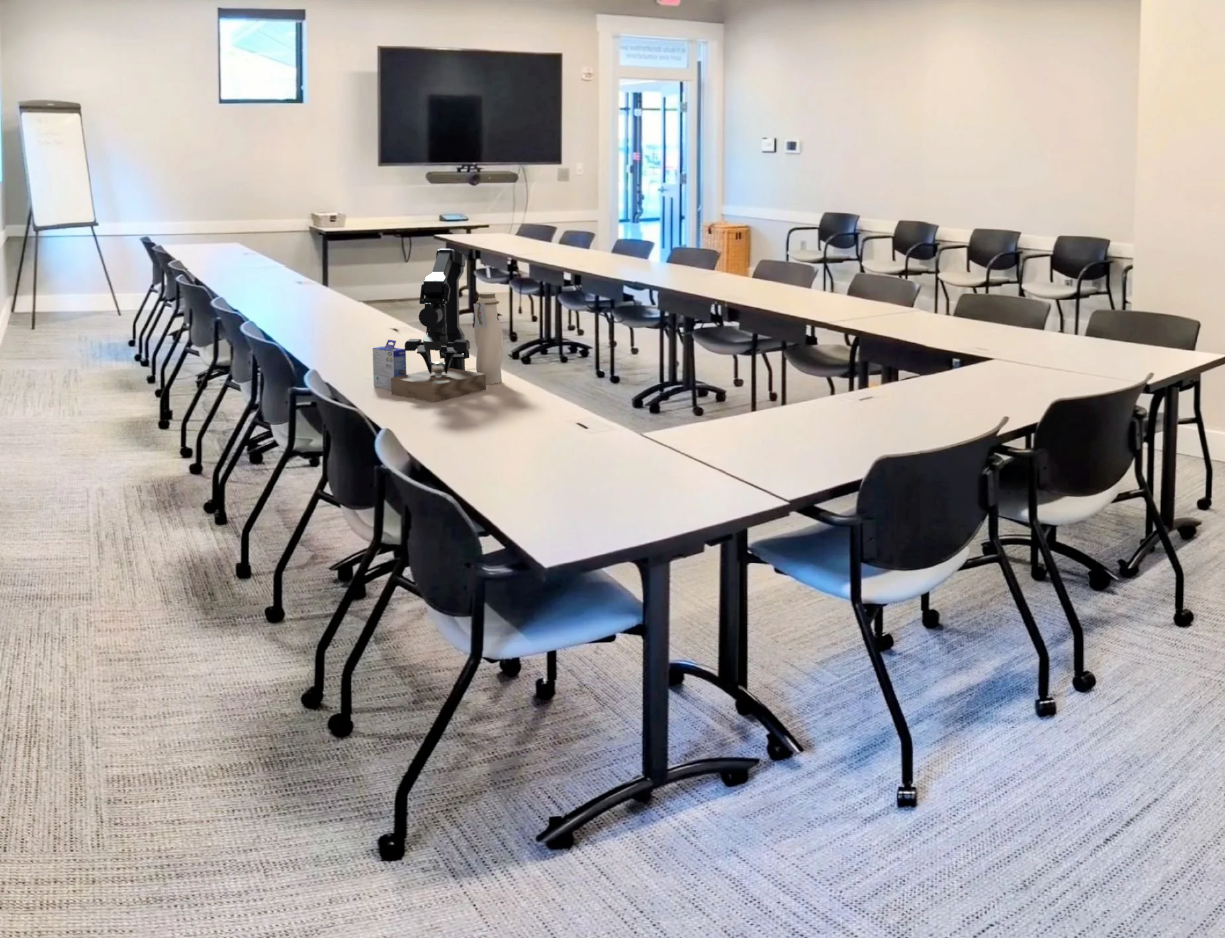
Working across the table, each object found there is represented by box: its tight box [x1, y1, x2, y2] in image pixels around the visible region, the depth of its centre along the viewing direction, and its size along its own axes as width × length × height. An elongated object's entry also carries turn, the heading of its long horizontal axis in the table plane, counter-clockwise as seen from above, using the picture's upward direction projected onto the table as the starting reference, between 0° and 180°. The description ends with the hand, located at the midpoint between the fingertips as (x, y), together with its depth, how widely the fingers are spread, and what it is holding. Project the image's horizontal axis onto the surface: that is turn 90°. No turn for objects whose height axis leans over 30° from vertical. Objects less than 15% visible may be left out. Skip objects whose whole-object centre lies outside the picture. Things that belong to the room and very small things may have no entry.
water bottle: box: [473, 291, 504, 385], centre depth 353 cm, size 10×9×28 cm
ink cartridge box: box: [372, 339, 407, 390], centre depth 347 cm, size 10×6×14 cm, turn 53°
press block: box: [390, 368, 487, 403], centre depth 342 cm, size 22×18×5 cm
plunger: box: [431, 360, 445, 378], centre depth 341 cm, size 4×4×9 cm
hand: (438, 373), depth 341 cm, fingers closed on plunger, 4 cm apart
